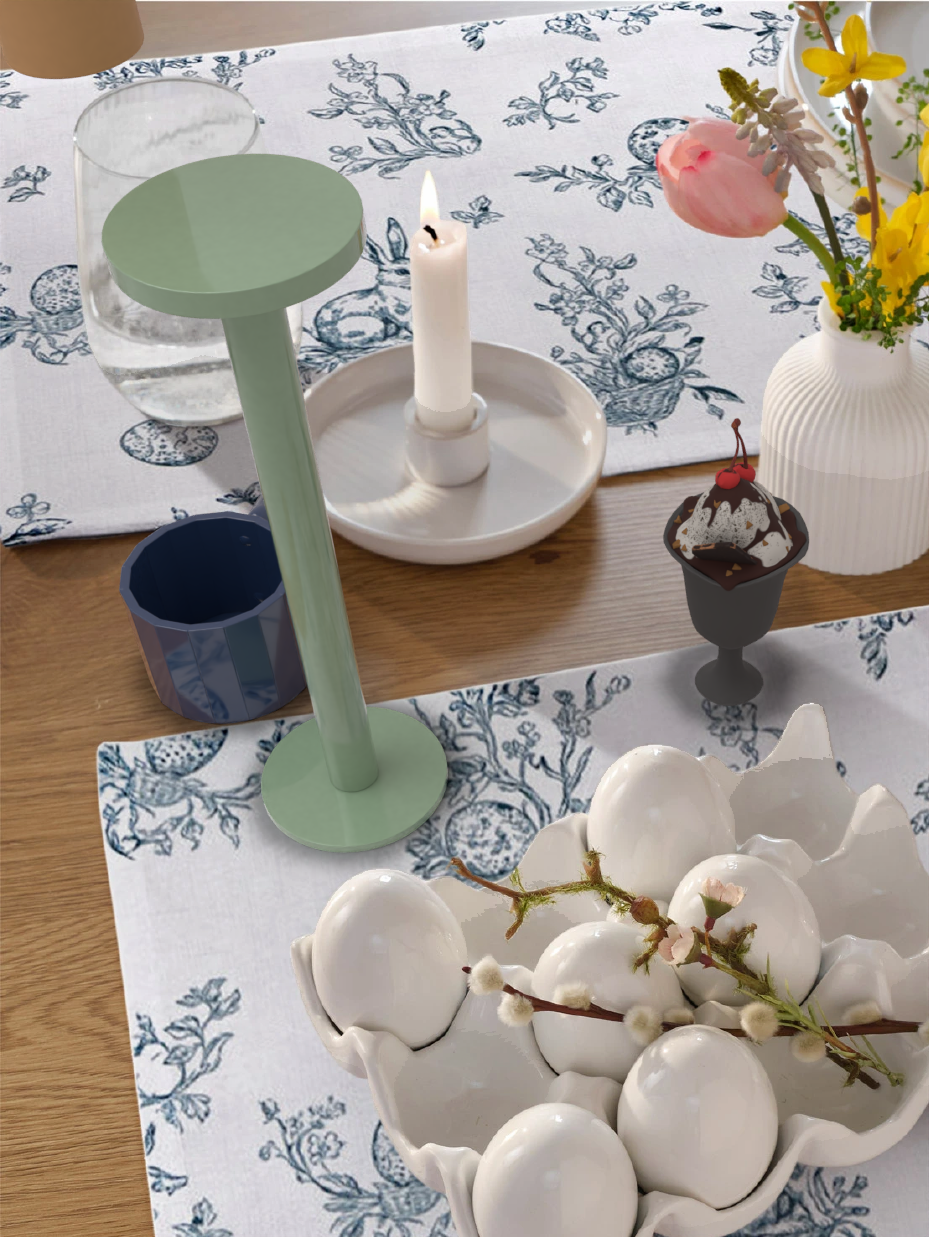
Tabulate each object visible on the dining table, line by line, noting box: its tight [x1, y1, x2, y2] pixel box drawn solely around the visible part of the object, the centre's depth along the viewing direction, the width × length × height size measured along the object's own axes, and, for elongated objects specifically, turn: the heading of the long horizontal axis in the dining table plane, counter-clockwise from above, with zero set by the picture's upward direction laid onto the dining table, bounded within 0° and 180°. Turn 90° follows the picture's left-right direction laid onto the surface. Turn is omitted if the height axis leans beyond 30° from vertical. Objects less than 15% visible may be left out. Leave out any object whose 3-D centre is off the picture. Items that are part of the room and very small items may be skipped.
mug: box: [118, 493, 308, 725], centre depth 83 cm, size 12×9×7 cm
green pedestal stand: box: [100, 153, 449, 854], centre depth 67 cm, size 9×9×30 cm
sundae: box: [662, 417, 810, 707], centre depth 77 cm, size 7×7×15 cm
